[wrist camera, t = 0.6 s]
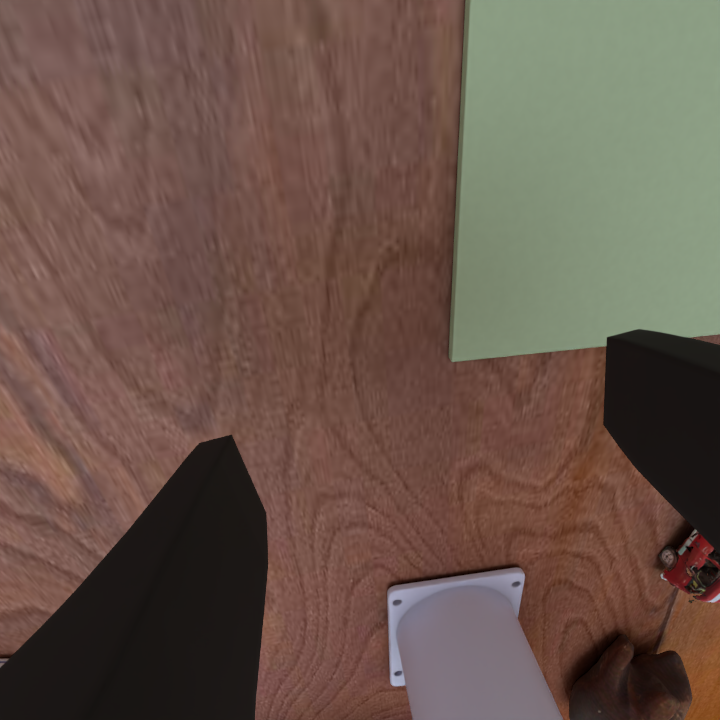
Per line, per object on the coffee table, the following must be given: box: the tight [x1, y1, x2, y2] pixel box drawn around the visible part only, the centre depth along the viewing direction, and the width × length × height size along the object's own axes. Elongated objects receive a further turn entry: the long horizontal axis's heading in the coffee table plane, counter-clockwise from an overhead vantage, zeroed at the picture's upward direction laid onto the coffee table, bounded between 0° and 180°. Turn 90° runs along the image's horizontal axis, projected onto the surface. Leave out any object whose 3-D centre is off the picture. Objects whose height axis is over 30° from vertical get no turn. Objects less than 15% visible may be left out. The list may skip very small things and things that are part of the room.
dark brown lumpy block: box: [569, 634, 692, 720], centre depth 32 cm, size 6×7×10 cm
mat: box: [449, 0, 720, 362], centre depth 16 cm, size 18×18×1 cm
